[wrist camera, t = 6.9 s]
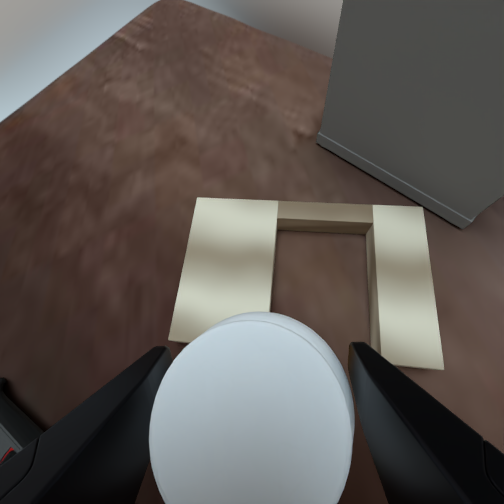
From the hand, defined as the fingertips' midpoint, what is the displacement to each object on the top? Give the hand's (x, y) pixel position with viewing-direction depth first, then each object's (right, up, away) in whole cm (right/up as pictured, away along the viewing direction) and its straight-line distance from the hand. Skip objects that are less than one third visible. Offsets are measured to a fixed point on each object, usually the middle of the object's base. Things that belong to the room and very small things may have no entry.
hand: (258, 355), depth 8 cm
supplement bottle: (+1, -4, +6) cm, 7 cm away
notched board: (+3, +1, +13) cm, 13 cm away
